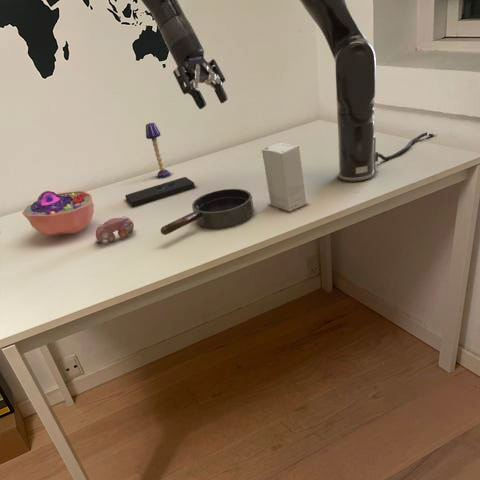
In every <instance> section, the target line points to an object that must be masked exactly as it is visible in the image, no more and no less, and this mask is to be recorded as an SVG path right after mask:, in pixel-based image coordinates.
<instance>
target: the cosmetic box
mask: <svg viewBox="0 0 480 480" xmlns="http://www.w3.org/2000/svg"><path fill="white" fill-rule="evenodd" d="M261 153H262V159H263V160H262V161H263V166H264V171H265V178H266V182H267V183H266V184H267V190H268V195H269V201H270V205H271V206H272V207H275V208H279V209H281V210H283V211H287V212H292V211H294V210H297V209H299V208H301V207H305V206H306V205H307V197H306V189H305V181H304V173H303V167H302V158H301V150H300V145H298V144H297V145H296V144H295V145H294V144H289V143H284V142H276V143H274V144H271V145H270V146H267V147H265V148H262V149H261Z"/></svg>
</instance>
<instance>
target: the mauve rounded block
mask: <svg viewBox="0 0 480 480" xmlns="http://www.w3.org/2000/svg"><path fill="white" fill-rule="evenodd" d="M134 228H135V224H134V221H133V220H132V219H131V218H129V217H127V216H125V215H124V216H122V217H113V218H110V219H108V220H106V221H105V222H104V223H99V224H98V226H97V227H96V228H95V238H96V239H95V240H96V241H97V242H98V243H102V242H103V241H106V242H108V243H112V242H114V241H115V240H116V238H117V237H116V234H115V232H117V236H118V237H119V238H121V239H125V238H126V237H128V234H129V233H131V232H133V231H134Z"/></svg>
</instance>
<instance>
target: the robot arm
mask: <svg viewBox="0 0 480 480" xmlns="http://www.w3.org/2000/svg"><path fill="white" fill-rule="evenodd" d="M140 1H141V2H142V3H143V5H144V6H145V7H146V9H147V10H148V11H149V13H150V14H151V16H152V18H153V19H154V22H155V23H156V26H157V28H158V29H159V31H160V34H161V36H162V38H163V41H164V43H165V45H166V47H167V49H168V51H169V53H170V55H171V57H172V59H173V60H174V63H175V64H176V68H175V69H174V70H173V71H172V74H173V75H174V78H175V80H176V82H177V84H178V86H179V88H180V90H181V92H182V94H184V95H187V94H188V95H189V96H191V97H192V100H193V101H194V103H195V105H196V106H197V108H198V109H199V110H202V109H204V108H206V107H207V102H206V100H205V98H204V96H203V94H202V93H201V92H202V91H200V90H199V84H205V85H206V86H210V87H211V88H212V89H214V93H215V94H216V97H217V98H218V101H219V103H220V104H225V102H227V101H228V95H227V93H226V91H225V88H224V87H223V84H224V83H225V82H226V78H225V76H224V74H223V72H222V70H221V68H220V66H219V65H218V63H217V61H216V60H215V59H214V58H212V59H211V60H210V61H207V60H206V59H205V57H204V56H205V55H204V54H205V49H204V48H203V45H202V44H201V41H200V40H199V37H198V35H197V34H196V32H195V30H194V28H193V26H192V24H191V22H190V21H189V20H188V18H187V17H186V14H185V13H184V10H183V8H182V6H181V5H180V2H179V1H178V0H140ZM299 2H300V3H301V5H302V7H304V9H305V11H306V12H307V14H308V15H309V16H310V18H311V19H312V20H313V21H314V22H315V24H316V25H317V26H318V28H319V29H320V31H321V33H322V34H323V36H324V39H325V40H326V43H327V45H328V47H329V50H330V52H331V55H332V58H333V60H334V64H335V65H334V68H335V89H336V90H335V91H336V93H335V94H336V114H337V115H336V116H337V117H336V118H337V119H336V121H337V143H338V144H337V145H338V147H337V148H338V170H339V171H338V178H339V179H340V180H342V181H345V182H361V181H366V180H368V179H371V178H372V177H374V176H375V172H376V163H377V162H379V158H380V159H381V160H383V161H388V160H392V159H394V158H396V157H398V156H400V155H401V154H403V153H404V152H406V151H407V150H409V149H410V147H411V146H412V145H413V143H416V142H417V141H419V140H420V139H422V138H424V137H426V136H429V137H430V138H432V137H433V138H434V137H435V135H434V133H432V134H429V135H427V132H428V131H426V132H422V133H421V134H419V135H417V136H416V137H414V138H413V139H411V140H410V141H409V142H408V144H407V145H406V146H404V147H403V148H401V149H400V150H399V151H397V152H395V153H394V154H392V155H389V156H385V155H384V154H382V153H379V152H378V151H376V148H377V147H376V145H377V143H376V142H377V141H376V136H375V97H376V53H375V51H374V48H373V46H372V44H371V43H370V42H369V41H368V39H367V38H366V37H365V35H364V33H363V32H362V30H361V29H360V28H359V26H358V24H357V23H356V21H355V20H354V18H353V16H352V15H351V12H350V11H349V8H348V6H347V5H348V4H347V3H346V0H299Z"/></svg>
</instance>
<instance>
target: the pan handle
mask: <svg viewBox="0 0 480 480" xmlns="http://www.w3.org/2000/svg"><path fill="white" fill-rule="evenodd" d="M200 217H202V216H201V211H196V212H193V211H192V212H190V213H188V214H185V215H183V216H182V217H180V218H178V219H176V220H174V221H172V222H169V223H168V224H165V225H163V226H162V227H161V228H160V234H162V235H163V236H167V235H169V234H171V233H173V232H175V231H177V230H179V229H182V228H183V227H185V226H187V225H189V224H191V223H193V222H195V220H197V219H198V218H200Z"/></svg>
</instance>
